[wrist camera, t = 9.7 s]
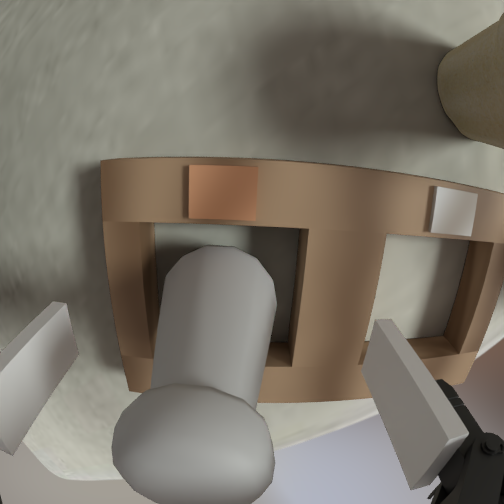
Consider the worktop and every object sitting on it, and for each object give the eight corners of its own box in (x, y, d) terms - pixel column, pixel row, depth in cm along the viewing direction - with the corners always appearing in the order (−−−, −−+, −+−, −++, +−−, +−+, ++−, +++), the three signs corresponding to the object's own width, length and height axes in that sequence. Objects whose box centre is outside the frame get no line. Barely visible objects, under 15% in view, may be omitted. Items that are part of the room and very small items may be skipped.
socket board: (139, 368, 20) (128, 394, 17) (120, 158, 16) (97, 160, 13) (449, 364, 21) (465, 385, 18) (497, 191, 16) (523, 199, 14)
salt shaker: (175, 321, 19) (106, 511, 7) (171, 231, 17) (37, 397, 5) (269, 327, 19) (289, 532, 7) (277, 236, 17) (334, 431, 5)
